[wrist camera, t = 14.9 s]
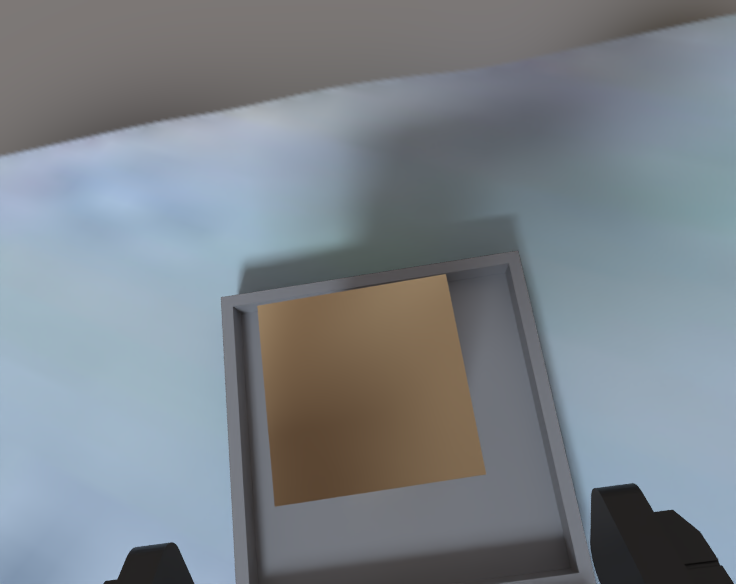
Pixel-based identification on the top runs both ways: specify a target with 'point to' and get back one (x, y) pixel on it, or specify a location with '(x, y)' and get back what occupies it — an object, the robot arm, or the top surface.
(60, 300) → the top surface
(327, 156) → the top surface
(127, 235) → the top surface
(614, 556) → the robot arm
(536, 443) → the tray
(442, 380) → the oak peg
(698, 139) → the top surface
